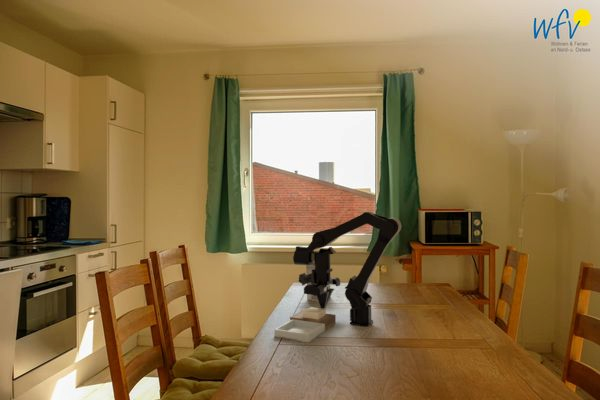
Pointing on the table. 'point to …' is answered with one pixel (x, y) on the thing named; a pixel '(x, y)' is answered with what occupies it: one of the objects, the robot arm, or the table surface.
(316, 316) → the block
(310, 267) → the coffee box
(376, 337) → the table surface
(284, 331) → the box
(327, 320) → the brown rectangular slab
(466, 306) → the table surface
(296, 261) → the robot arm
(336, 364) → the table surface
